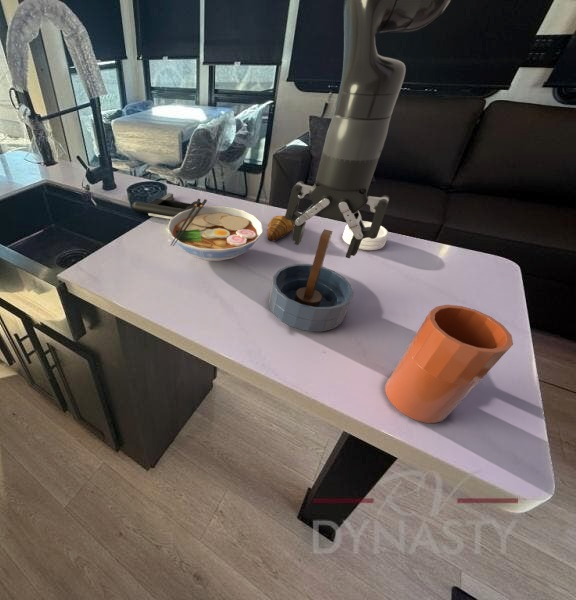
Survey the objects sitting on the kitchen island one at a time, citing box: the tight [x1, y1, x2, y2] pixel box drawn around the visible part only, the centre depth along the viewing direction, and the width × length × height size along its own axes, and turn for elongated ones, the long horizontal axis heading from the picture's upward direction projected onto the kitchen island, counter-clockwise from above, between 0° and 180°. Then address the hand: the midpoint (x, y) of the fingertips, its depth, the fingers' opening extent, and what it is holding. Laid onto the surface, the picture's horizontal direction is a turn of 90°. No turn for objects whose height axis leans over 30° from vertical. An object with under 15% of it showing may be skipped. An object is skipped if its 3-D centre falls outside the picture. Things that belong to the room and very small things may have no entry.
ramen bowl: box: [167, 198, 264, 262], centre depth 81 cm, size 25×23×8 cm
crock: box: [384, 304, 514, 424], centre depth 45 cm, size 8×8×15 cm
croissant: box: [266, 215, 295, 242], centre depth 88 cm, size 14×7×5 cm, turn 142°
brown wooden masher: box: [294, 228, 333, 307], centre depth 61 cm, size 5×5×16 cm
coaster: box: [342, 220, 390, 251], centre depth 84 cm, size 10×10×4 cm
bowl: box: [268, 263, 354, 332], centre depth 64 cm, size 14×14×6 cm
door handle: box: [131, 192, 202, 220], centre depth 103 cm, size 3×20×16 cm
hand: (322, 249), depth 57 cm, fingers open, 8 cm apart
